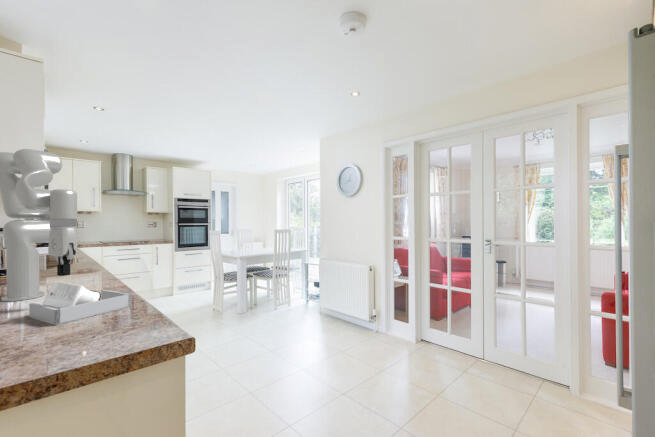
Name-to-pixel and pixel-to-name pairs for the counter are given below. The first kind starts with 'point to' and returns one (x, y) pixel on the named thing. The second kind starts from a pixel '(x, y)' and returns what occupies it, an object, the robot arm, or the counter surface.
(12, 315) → the counter surface
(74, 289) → the container
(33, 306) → the tray
